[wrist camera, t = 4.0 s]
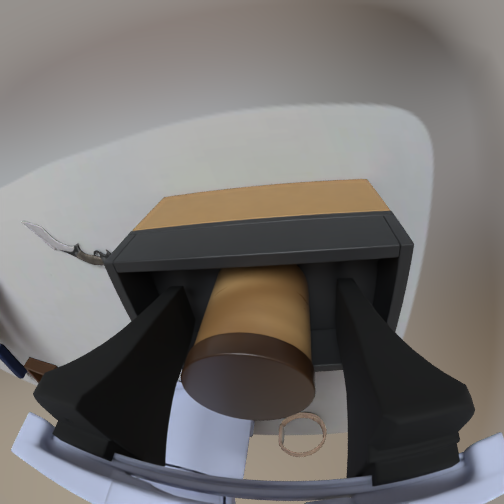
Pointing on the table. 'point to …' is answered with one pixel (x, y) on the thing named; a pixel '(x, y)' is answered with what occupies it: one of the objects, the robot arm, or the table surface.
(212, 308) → the spice jar
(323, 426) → the perforated watch strap
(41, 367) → the tray
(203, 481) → the robot arm
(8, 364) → the eraser
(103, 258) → the curved fantasy dagger
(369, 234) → the bin
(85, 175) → the table surface
